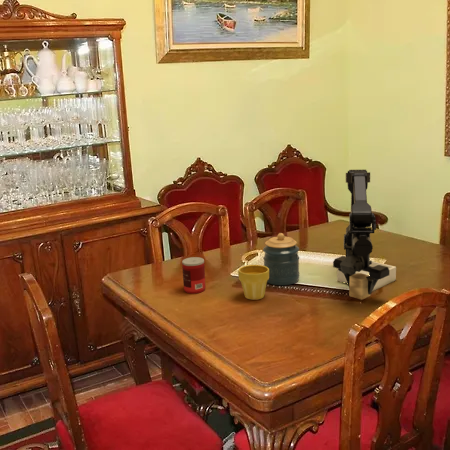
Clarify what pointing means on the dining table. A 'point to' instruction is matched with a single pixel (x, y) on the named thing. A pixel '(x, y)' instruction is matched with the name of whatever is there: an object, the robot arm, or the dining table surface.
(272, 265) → the canister
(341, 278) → the bin
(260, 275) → the plant pot
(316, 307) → the dining table surface
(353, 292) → the wooden block
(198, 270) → the canned food
